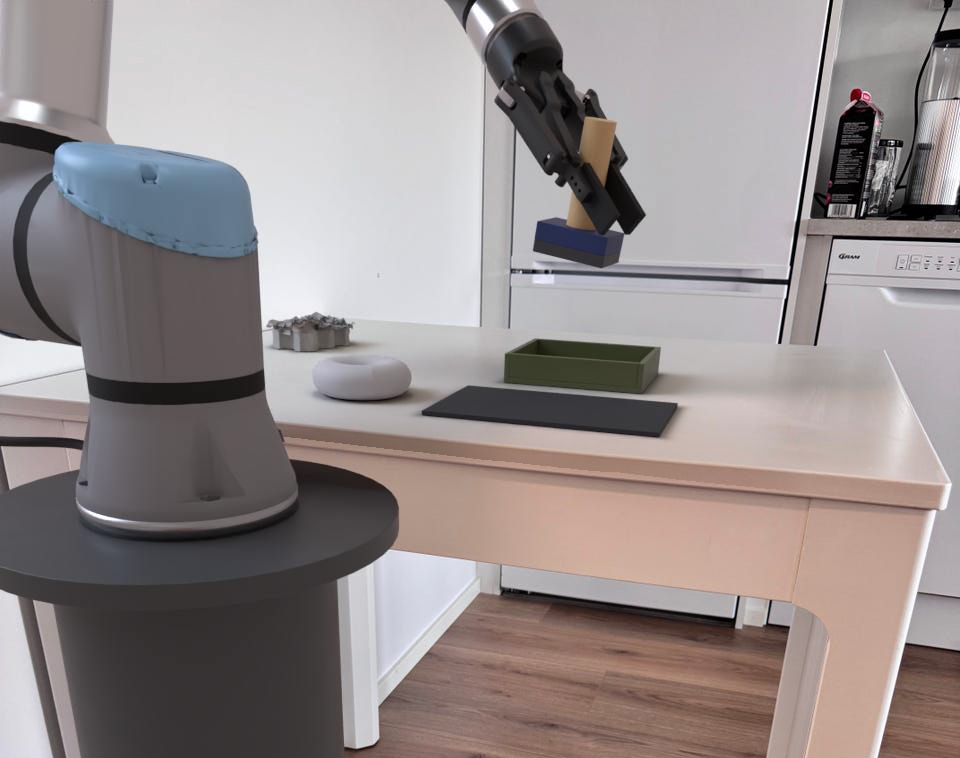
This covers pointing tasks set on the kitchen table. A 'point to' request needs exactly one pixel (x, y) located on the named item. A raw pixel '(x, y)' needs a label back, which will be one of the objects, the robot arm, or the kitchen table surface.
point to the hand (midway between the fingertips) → (622, 224)
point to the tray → (583, 365)
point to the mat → (556, 410)
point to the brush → (578, 232)
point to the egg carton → (310, 332)
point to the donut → (361, 377)
